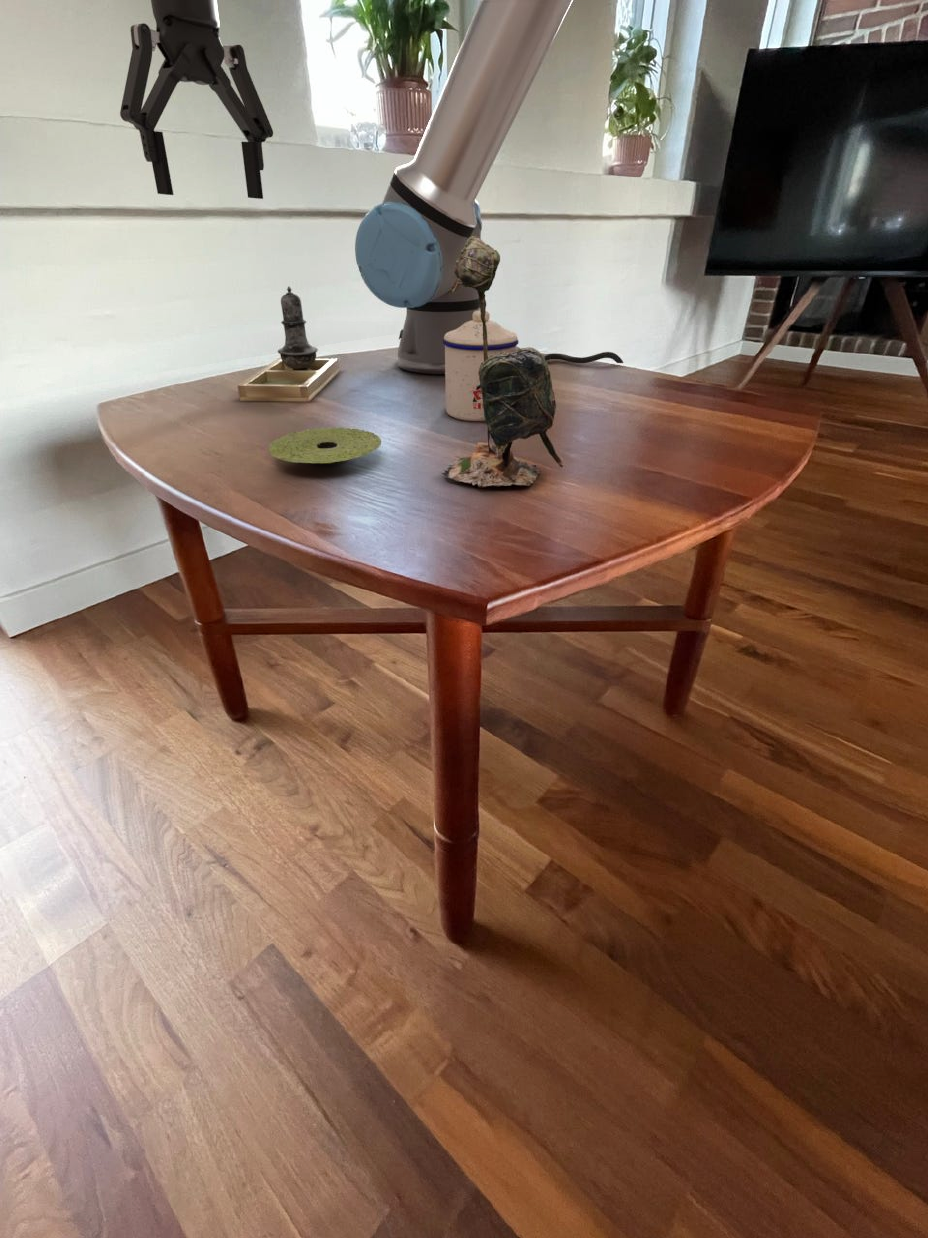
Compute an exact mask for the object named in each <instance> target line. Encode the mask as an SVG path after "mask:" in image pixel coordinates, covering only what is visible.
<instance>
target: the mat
mask: <svg viewBox="0 0 928 1238" xmlns="http://www.w3.org/2000/svg"><path fill="white" fill-rule="evenodd" d="M381 446H382V439H381V438H380V436H378V435H377V434H375V433H374V432H371V431H368V430H365V429H358V428H350V427H349V428H348V427H323V428H322V427H318V428H311V429H304V430H300V431H295V432H292V433H288V434H285V435H284V436H281V437H278V438H277V439H275V440H273V441H272V442H271V443H270V444H269V447H268V452H269V454H271V456H273V457H275V458H277V459H279V460H281V461H286V462H288V463H289V462H290V463H296V464H298V463H301V464H309V463H310V464H320V465H322V464H334V463H335V462H337V463H339V462H345V461H350V460H353V459H357V458H360V457H365V456H367V455H369V454H371V453H373V452H374V451H376V450H378V449H379V448H380V447H381Z"/></svg>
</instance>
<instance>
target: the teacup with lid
mask: <svg viewBox="0 0 928 1238" xmlns="http://www.w3.org/2000/svg"><path fill="white" fill-rule="evenodd" d="M490 316H491V315H490V312H489V311H488V310H486V313H485V320H486V327H487V341H488V347H487V348H488V350H487V354H488V358H489V357H490V356H491V355H492V356H495V355H497V354H499V353H501V352H508V351H510V350H516V349H521V347H519V346H518V345H519V341H520V340H519V339H518V338H519V337H518V335H517V334H516V333H515V332H514V331H511V330H508V329H506V328H504V327H503V326H502V325H500V324H499V323H498V322H497V321H494V320H490ZM443 344H444V345H445V374H444V377H445V378H444V381H445V411H446V414H447V415H449V416H450V417H451V418H455V419H456V420H461V421H467V422H485V418H484V409H483V398H482V392H481V385H480V381H479V374H478V373H479V368H480V366H481V363H483V362H484V353H483V323H482V320H481V312H480V311H475V312H474V313H473V320H472V321H468V322H466V323H464V324H463V325H461V326H460V327H459V328H457V329H455V330H453V331H450V332H447V333H446V334H445V336H444V340H443Z"/></svg>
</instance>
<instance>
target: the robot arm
mask: <svg viewBox="0 0 928 1238" xmlns="http://www.w3.org/2000/svg"><path fill="white" fill-rule="evenodd" d="M217 1H218V0H150V3H151V9H152V15H153V18H154V21H155V24H156V27H155V30H154V29H152V28H150V26H149V25H148V24H146V23H144V22H143V23H137V24H133V25H131V26H130V39H131V47H132V50H131V55H130V59H129V64H128V69H127V75H126V80H125V85H124V90H123V95H122V100H121V105H120V111H119V116H120V118H121V119H122V120H123V121H124V122H125V123H129V124H131V125H133V127H134V129H136V130H138V131H139V136H140V141H141V146H142V151H143V156H144V158H145V161H146V162H147V163H151V166H152V171H153V176H154V181H155V186H156V193H157V194H158V195H166V196H174V190H173V184H172V179H171V172H170V167H169V162H168V155H167V151H166V150H167V149H166V144H165V138H164V132H163V131H159V130H155V129H156V127H157V124H158V123H159V121H160V118H161V117H162V115H163V113H164V111H165V108H166V107H167V105H168V103H169V101H170V98H171V96H172V95H173V93H174V91H175V89H176V87H177V85H178V84H179V83H180V82H182V83H194V84H196V85H201V86H208V87H209V89H211V90H212V91H213V92H214V93H215V94H216V95H217V97H218V98H219V100H220V102H221V103H222V104H223V106H224V107H225V109H226V110H227V112H228V114H229V115H230V116H231V118H232V119H233V121H234V123H235V124H236V126H237V127H238V129H239V131H240V132H241V133H242V135H243V136H244V138H245V139H246V140H247V141H241V142H240V143H241V151H242V160H243V168H244V177H245V185H246V191H247V192H246V193H247V198H248V199H249V198H250V199H258V200H264V194H263V192H264V191H263V184H262V174H261V171H264V167H265V165H264V164H265V162H264V155H263V145H262V144H263V143H265V142H266V140H267V139H269V138H272V137H273V136H274V131H273V128H272V125H271V122H270V119H269V118H268V115H267V113H266V111H265V108H264V105H263V103H262V101H261V99H260V96H259V93H258V91H257V88H256V86H255V84H254V81H253V79H252V76H251V74H250V72H249V69H248V66H247V59H246V54H245V50H244V47H243V46H242V45H241V44H231V45H223V44H222V41H221V38H220V17H219V9H218V2H217ZM572 3H573V0H479V2H478V4H477V6H476V9H475V11H474V14H473V17H472V19H471V21H470V24H469V25H468V28H467V31H466V33H465V35H464V38H463V41H462V43H461V44H460V48H459V50H458V52H457V55H456V57H455V59H454V62H453V65H452V67H451V69H450V72H449V74H448V76H447V79H446V81H445V83H444V86H443V88H442V91H441V93H440V95H439V98H438V100H437V103H436V105H435V108H434V110H433V112H432V115H431V117H430V120H429V121H428V124H427V126H426V129H425V131H424V134H423V136H422V139H421V141H420V142H419V146H418V148H417V151H416V153H415V155H414V158H413V160H411V161H410V162H409V163H405V164H403V165H400V166H397V167H396V168H395V170H394V172H393V175H392V177H391V179H390V181H389V184H388V187H387V189H386V192H385V193H384V197H383V198H382V202H381V203H380V204H377V205H375V206H374V207H372V209H370V210H369V211H368V212H367V213H366V214H365V215H364V217H363V218H362V220H361V222H360V224H359V225H358V228H357V231H356V235H355V236H356V237H355V239H354V240H355V242H354V254H355V262H356V265H357V267H358V271H359V274H360V277H361V279H362V281H363V283H364V284H365V285H366V286H365V287H367V289H368V290H369V291H370V292H371V293H372V295H374V296H375V298H377V299H378V300H380V301H381V302H382V303H384V304H387V305H388V306H391V307H394V308H398V309H399V308H400V309H405V308H406V315H405V320H404V324H403V328H402V329H401V330H400V331H399V336H398V340H399V345H398V349H397V366H398V367H399V368H401V369H402V370H403V371H404V370H405V371H407V372H411V373H417V374H425V375H445V345H444V344H443V340H444V336H445V334H446V333H447V332H450V331H453V330H455V329H457V328H459V327H460V326H461V325H463V324H464V323H466V322H468V321H472V320H473V313H474V312H475V311H480V306H479V295H478V291H477V290H476V289H474V288H471V287H465V286H464V285H460V286H458V288H457V290H456V291H455V292H451V291H450V289H451V287H452V286H453V285H454V282H455V280H456V274H455V269H454V267H456V261H457V260H458V258H460V256H461V252H462V250H463V248H464V245H465V244H466V243H467V240H468V239H469V238H471V237H472V236H477V237H478V238H479V239H480V240H482V234H481V233H482V229H483V221H482V217H481V216H482V215H481V207H480V206H481V205H480V204H479V202H478V201H477V199H476V198H478V195H479V193H480V192H481V188H482V186H483V185H484V183H485V180H486V179H487V176H488V174H489V172H490V170H491V168H492V167H493V164H494V162H495V160H496V158H497V156H498V154H499V152H500V149H501V148H502V146H503V143H504V142H505V140H506V138H507V135H508V133H509V132H510V129H511V127H512V125H513V123H514V121H515V119H516V117H517V115H518V113H519V111H520V109H521V107H522V105H523V103H524V101H525V98H526V97H527V94H528V92H529V91H530V88H531V86H532V84H533V82H534V80H535V79H536V76H537V74H538V72H539V70H540V68H541V66H542V64H543V61H544V60H545V58H546V56H547V54H548V51H549V50H550V47H551V45H552V43H553V42H554V39H555V37H556V35H557V33H558V32H559V29H560V27H561V25H562V24H563V21H564V19H565V17H566V15H567V12H568V10H569V9H570V6H571V5H572ZM156 47H157V48H158V50H159V51H160V53H161V55H162V56H163V58H164V60H163V62H162V64H161V66H160V68H159V70H158V73H157V74H158V76H157V78H156V80H155V81H154V83H153V86H152V87H151V90H150V92H149V93H148V96H147V97H146V99H145V100H144V98H145V94H146V88H147V84H148V79H149V74H150V69H151V63H152V59H153V52H155V51H156ZM223 62H224V64H225V65H226V67H228V70H229V74H230V75H231V79H232V80H233V82H234V85H235V88H236V90H237V92H238V93H237V92H236V91H235V89H234V87H233V86H232V81H231V79H230V78H229V76H228V74H227V73H226V72H225V70H224V68H223V66H222V64H223ZM238 94H239V96H240V97H239V96H238ZM144 101H145V102H144ZM543 355H544V357H545V361H546V362H547V361H549V360H560V361H565V362H568V363H572V364H589V363H593V362H597V361H598V360H602V359H611V360H612V361H614V362H615V363H616V364H624V361H623V359H622V357H620V355H618V354H617V353H615V352H612V351H602V352H599V353H596V354H592V355H588V356H582V357H581V356H579V357H578V356H573V355H570V354H569V355H568V354H565V353H556V352H555V353H547V354H543Z"/></svg>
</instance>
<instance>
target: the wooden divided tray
mask: <svg viewBox="0 0 928 1238" xmlns="http://www.w3.org/2000/svg"><path fill="white" fill-rule="evenodd" d="M308 369H313V370H315V371H301V370H293V369H292V368H289V367H287V366H286V365H285V364H284V363H283V361H282V359H281V357H279V358H276V359H275V360H273V361H272V362H271V363H269V364H268V365H267V366H265V367H263V368H262V369H260V370H259V371H257V372H255V373H254V374H252V375H251V376H250V377H248V378H247V379H245V380H243V381H242V382H241V383H239V384H237V391H238V396H239V400H240V401H241V402H291V403H292V402H294V403H295V402H296V403H297V402H298V403H299V402H300V403H310V402H311V400H312V399H314V397H315V396H317V395H318V393H320V392H321V391H322V390H323V389H324V388H325V387H326V386H327V385H328V384H329V383H330V382H331V381H332V380H333V379H334V378H335V377H336V376H337V375H338V374H339V373H340V367H339V358H316V360H315V363H314V364H313V365H312V366H311V367H309V368H308Z"/></svg>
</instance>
